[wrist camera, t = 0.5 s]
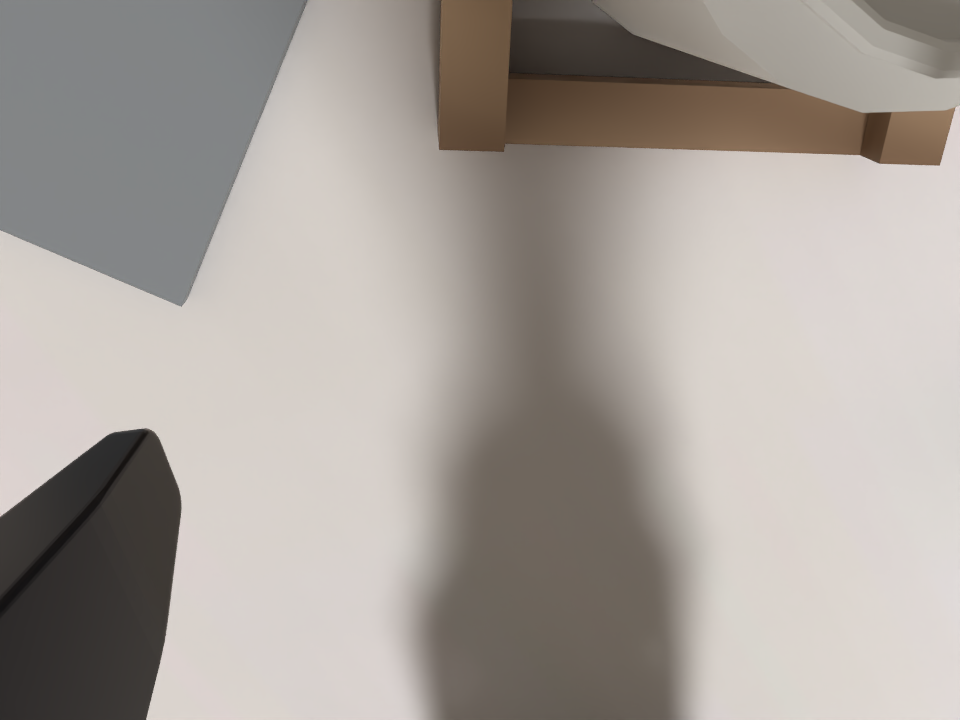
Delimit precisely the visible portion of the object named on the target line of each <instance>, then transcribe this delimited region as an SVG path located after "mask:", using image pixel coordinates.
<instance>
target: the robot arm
mask: <svg viewBox="0 0 960 720" xmlns="http://www.w3.org/2000/svg"><path fill="white" fill-rule="evenodd" d="M180 518H181V496H180V491H179V488H178V485H177V483H176V480H175V478H174V475H173V472H172V470H171V467H170V465H169V462H168V460H167V457H166V455H165V452H164V450H163V447H162V445H161V442H160V440H159V438H158V436H157V435H156V434H155V432H153V431H152V430H150V429H146V428H145V429H136V430H129V431H121V432H114V433H111V434H109V435H107V436H106V437H105V438H103V439H102V440H101V441H99V442H98V443H97V444H95V445H94V446H93V447H91V448H90V449H89V450H88V451H86V452H85V453H84V454H82V455H81V456H80V457H78V458H77V459H76V460H74V461H73V462H72V463H70V464H69V465H68V466H67V467H65V468H64V469H63V470H61V471H60V472H59V473H57V474H56V475H55V476H53V477H52V478H51V479H49V480H48V481H47V482H45V483H44V484H43V485H42V486H40V487H39V488H38V489H36V490H35V491H34V492H32V493H31V494H30V495H28V496H27V497H26V498H24V499H23V500H22V501H21V502H19V503H18V504H17V505H15V506H14V507H13V508H11V509H10V510H9V511H7V512H6V513H5V514H3V515H2V516H1V517H0V720H146V717H147V713H148V709H149V705H150V701H151V697H152V693H153V689H154V685H155V681H156V677H157V673H158V669H159V665H160V660H161V656H162V651H163V647H164V642H165V636H166V629H167V623H168V615H169V607H170V599H171V591H172V583H173V575H174V566H175V558H176V550H177V542H178V534H179V526H180Z"/></svg>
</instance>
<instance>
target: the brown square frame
mask: <svg viewBox="0 0 960 720" xmlns="http://www.w3.org/2000/svg"><path fill="white" fill-rule="evenodd" d="M511 18H512V0H441V16H440V63H439V109H438V139H439V150H464V151H496V152H504V147H505V144H534V145H565V146H596V147H627V148H658V149H689V150H720V151H751V152H782V153H813V154H844V155H861V156H863V157H866V158H868V159H870V160H872V161H875V162H877V163H879V164H908V165H940V162H941V159H942V155H943V151H944V148H945V144H946V140H947V137H948V133H949V129H950V125H951V122H952V118H953V114H954V111H955V107H954V108H951V109H948V110H943V111H908V112H874V113H862V112H859V111H856V110H853V109H849V108H846V107H843V106H840V105H837V104H834V103H831V102H828V101H825V100H822V99H819V98H816V97H813V96H810V95H807V94H804V93H801V92H798V91H795V90H792V89H789V88H786V87H783V86H780V85H778V84H775V83H760V82H734V81H708V80H682V79H656V78H629V77H603V76H577V75H551V74H525V73H509V55H510V37H511Z"/></svg>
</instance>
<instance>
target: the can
mask: <svg viewBox="0 0 960 720" xmlns="http://www.w3.org/2000/svg"><path fill="white" fill-rule="evenodd" d="M592 2H593V3H594V4H595V5H596V6H598V7H599V8H600V9H601V10H603V11H604V12H605V13H606V14H608V15H609V16H610V17H611V18H613V19H614V20H615V21H616V22H618V23H619V24H620V25H621V26H623V27H624V28H625V29H627V30H628V31H629V32H630V33H632V34H633V35H636V36H639V37H642V38H645V39H648V40H650V41H653V42H656V43H659V44H662V45H665V46H668V47H671V48H674V49H676V50H679V51H682V52H685V53H688V54H691V55H694V56H697V57H700V58H702V59H705V60H708V61H711V62H714V63H717V64H720V65H723V66H726V67H728V68H731V69H734V70H737V71H740V72H743V73H746V74H749V75H752V76H754V77H757V78H760V79H763V80H766V81H769V82H772V83H775V84H778V85H780V86H783V87H786V88H789V89H792V90H795V91H798V92H801V93H804V94H807V95H810V96H813V97H816V98H819V99H822V100H825V101H828V102H831V103H834V104H837V105H840V106H843V107H846V108H849V109H853V110H856V111H859V112H862V113H874V112H908V111H943V110H948V109H951V108H954V107H957V106H960V0H592Z"/></svg>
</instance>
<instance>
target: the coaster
mask: <svg viewBox="0 0 960 720" xmlns="http://www.w3.org/2000/svg"><path fill="white" fill-rule="evenodd" d="M306 3H307V0H0V230H1V231H4V232H6V233H8V234H11V235H13V236H15V237H18V238H20V239H22V240H25V241H27V242H30V243H32V244H34V245H37V246H39V247H41V248H44V249H46V250H49V251H51V252H53V253H56V254H58V255H60V256H63V257H65V258H67V259H70V260H72V261H75V262H77V263H79V264H82V265H84V266H86V267H89V268H91V269H93V270H96V271H98V272H101V273H103V274H105V275H108V276H110V277H112V278H115V279H117V280H119V281H122V282H124V283H127V284H129V285H131V286H134V287H136V288H138V289H141V290H143V291H146V292H148V293H150V294H153V295H155V296H157V297H160V298H162V299H164V300H167V301H169V302H172V303H174V304H176V305H179V306H181V307H182V305H183V304H184V303H185V301H186V300H187V298H188V296H189V293H190V291H191V288H192V286H193V283H194V281H195V278H196V276H197V273H198V271H199V268H200V266H201V263H202V261H203V259H204V256H205V254H206V251H207V249H208V246H209V244H210V241H211V239H212V236H213V234H214V231H215V229H216V226H217V224H218V221H219V219H220V216H221V214H222V211H223V209H224V206H225V204H226V201H227V199H228V196H229V194H230V191H231V189H232V187H233V184H234V182H235V179H236V177H237V174H238V172H239V169H240V167H241V164H242V162H243V159H244V157H245V154H246V152H247V149H248V147H249V144H250V142H251V139H252V137H253V134H254V132H255V129H256V127H257V124H258V122H259V119H260V117H261V115H262V112H263V110H264V107H265V105H266V102H267V100H268V97H269V95H270V92H271V90H272V87H273V85H274V82H275V80H276V77H277V75H278V72H279V70H280V67H281V65H282V62H283V60H284V57H285V55H286V52H287V50H288V47H289V45H290V43H291V40H292V38H293V35H294V33H295V30H296V28H297V25H298V23H299V20H300V18H301V15H302V13H303V10H304V8H305V5H306Z"/></svg>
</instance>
